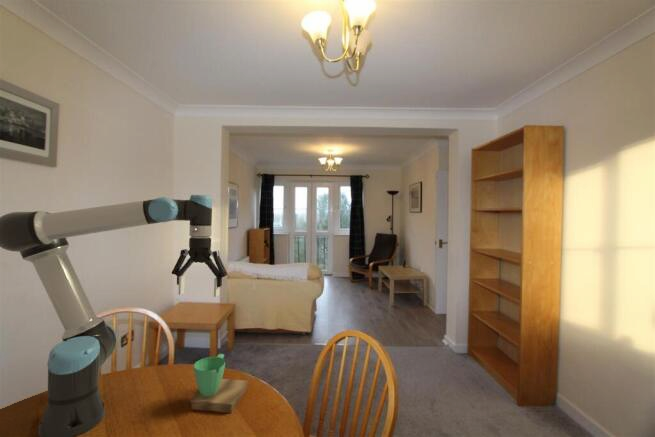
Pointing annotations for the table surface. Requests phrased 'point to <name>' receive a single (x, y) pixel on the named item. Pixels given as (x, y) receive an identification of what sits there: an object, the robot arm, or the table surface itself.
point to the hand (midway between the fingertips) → (198, 294)
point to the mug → (209, 374)
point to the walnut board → (221, 397)
